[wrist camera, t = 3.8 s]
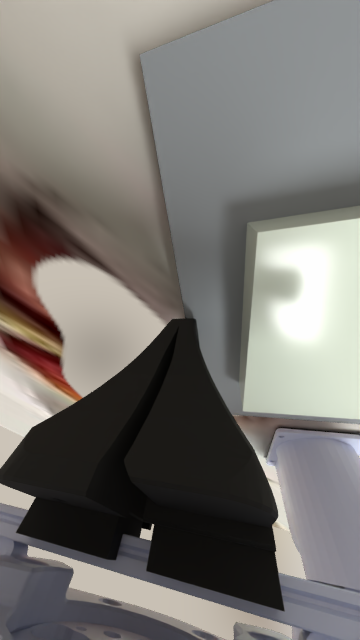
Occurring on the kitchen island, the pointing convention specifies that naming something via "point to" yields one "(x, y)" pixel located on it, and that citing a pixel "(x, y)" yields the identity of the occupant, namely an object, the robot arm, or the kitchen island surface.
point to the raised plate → (251, 150)
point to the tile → (302, 315)
